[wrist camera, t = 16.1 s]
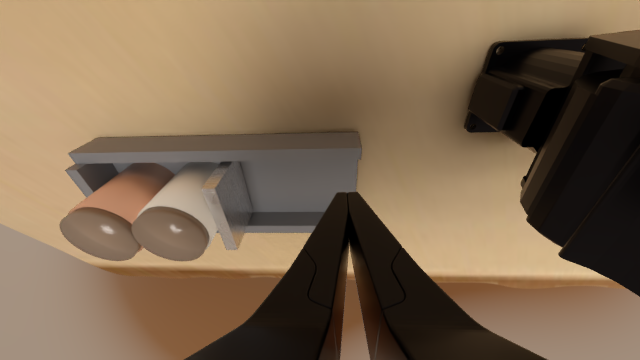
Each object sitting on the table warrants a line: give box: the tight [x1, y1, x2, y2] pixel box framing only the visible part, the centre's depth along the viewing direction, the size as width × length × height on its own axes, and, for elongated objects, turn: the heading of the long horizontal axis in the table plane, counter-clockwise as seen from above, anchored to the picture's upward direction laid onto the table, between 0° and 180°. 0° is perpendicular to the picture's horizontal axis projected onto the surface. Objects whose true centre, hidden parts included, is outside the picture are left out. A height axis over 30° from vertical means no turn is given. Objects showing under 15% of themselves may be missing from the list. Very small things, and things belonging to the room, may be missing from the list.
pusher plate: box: [201, 161, 253, 250], centre depth 21 cm, size 1×7×5 cm, turn 2°
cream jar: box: [132, 162, 219, 261], centre depth 20 cm, size 6×6×7 cm
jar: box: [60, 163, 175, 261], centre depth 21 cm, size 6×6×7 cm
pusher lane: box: [65, 132, 362, 233], centre depth 22 cm, size 24×10×4 cm, turn 92°
